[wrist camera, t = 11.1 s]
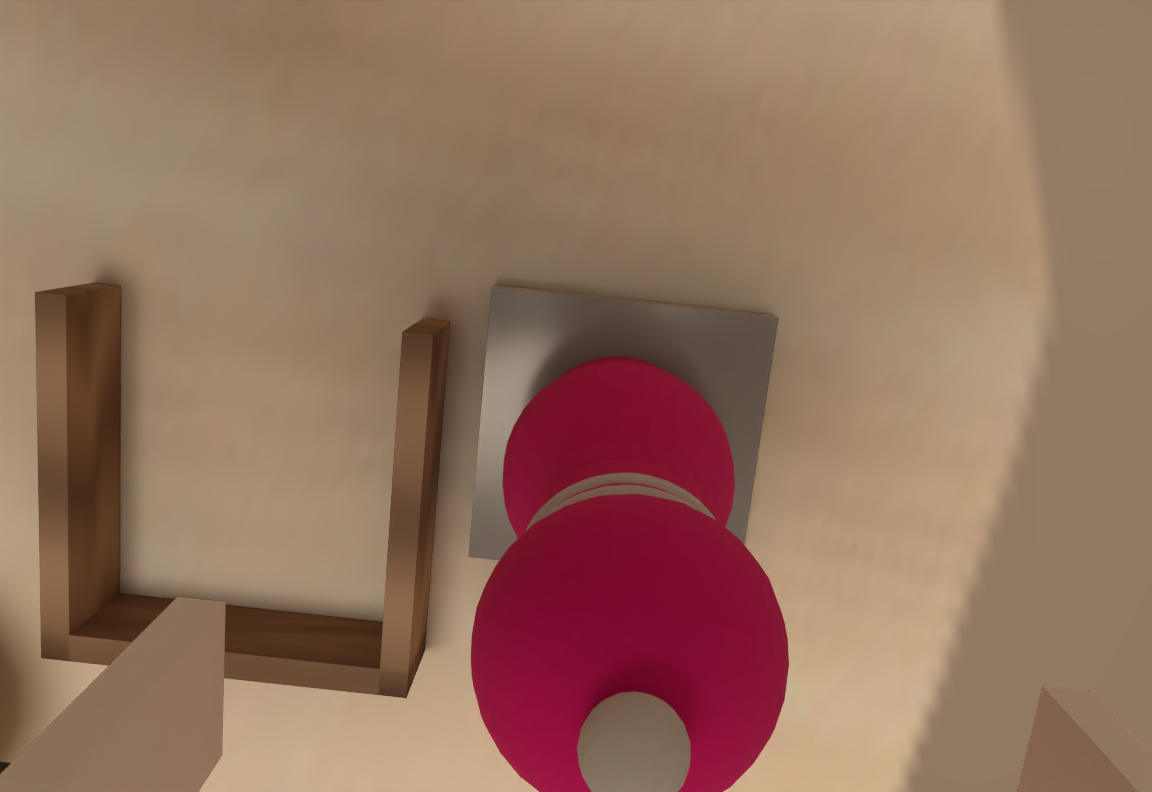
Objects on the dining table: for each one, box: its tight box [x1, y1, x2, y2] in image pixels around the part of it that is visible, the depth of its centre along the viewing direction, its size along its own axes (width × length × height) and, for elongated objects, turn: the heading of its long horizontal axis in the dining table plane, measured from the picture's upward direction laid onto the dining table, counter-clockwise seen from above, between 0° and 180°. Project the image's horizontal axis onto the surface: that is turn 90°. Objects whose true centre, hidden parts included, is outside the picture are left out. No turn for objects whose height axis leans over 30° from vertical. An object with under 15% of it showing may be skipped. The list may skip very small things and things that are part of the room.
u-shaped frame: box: [35, 283, 450, 698], centre depth 33 cm, size 13×13×4 cm
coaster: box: [469, 285, 778, 560], centre depth 34 cm, size 10×10×1 cm
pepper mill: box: [471, 356, 789, 792], centre depth 23 cm, size 7×7×20 cm
